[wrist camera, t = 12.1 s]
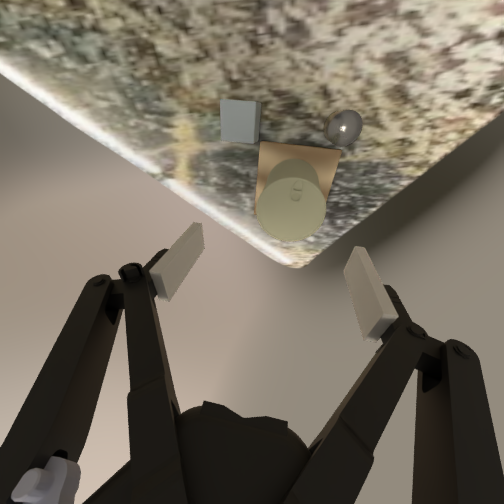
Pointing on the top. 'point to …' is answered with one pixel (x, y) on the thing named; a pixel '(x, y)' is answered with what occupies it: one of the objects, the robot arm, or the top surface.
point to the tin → (343, 127)
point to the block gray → (240, 121)
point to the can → (291, 202)
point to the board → (315, 156)
